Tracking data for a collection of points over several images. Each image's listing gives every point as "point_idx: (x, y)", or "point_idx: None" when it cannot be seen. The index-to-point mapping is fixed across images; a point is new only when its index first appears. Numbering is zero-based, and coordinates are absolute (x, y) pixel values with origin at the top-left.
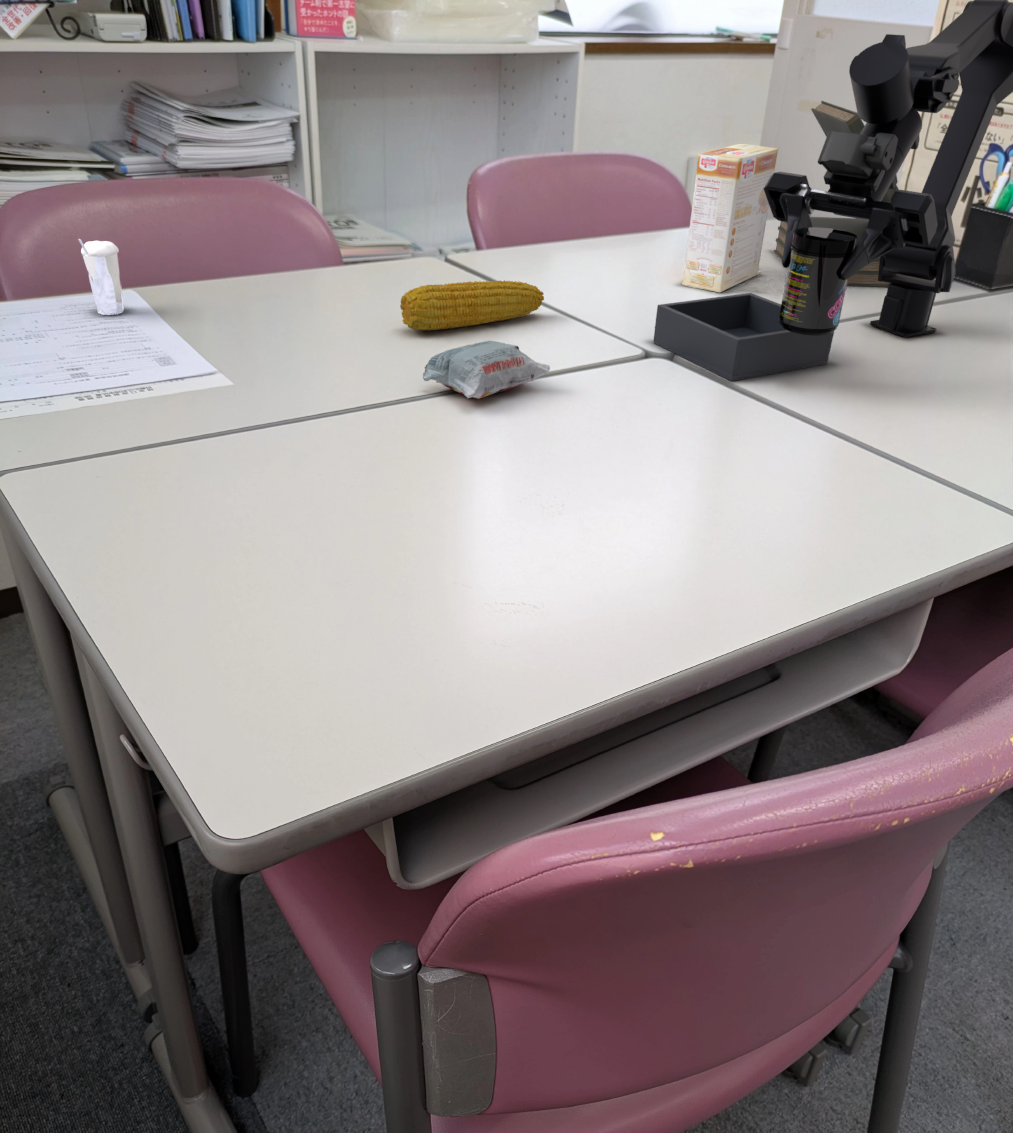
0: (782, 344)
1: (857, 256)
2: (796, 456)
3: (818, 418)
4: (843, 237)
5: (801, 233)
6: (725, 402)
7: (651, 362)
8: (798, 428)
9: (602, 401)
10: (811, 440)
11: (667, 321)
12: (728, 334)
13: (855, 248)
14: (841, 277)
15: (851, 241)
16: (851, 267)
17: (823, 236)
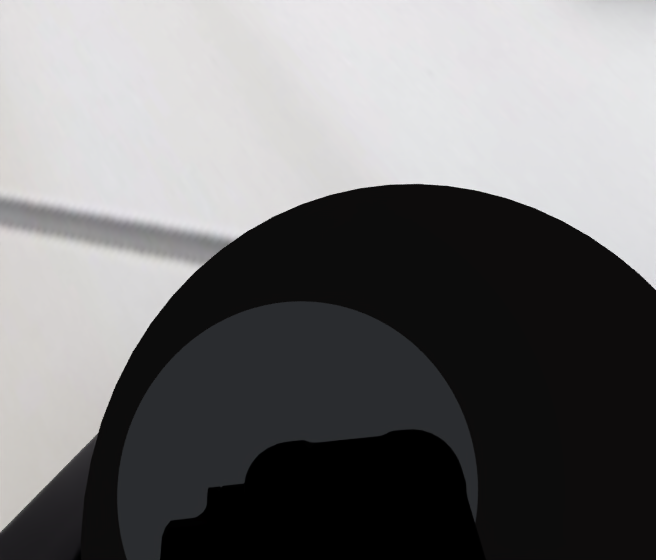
0: None
1: (48, 491)
2: (70, 57)
3: (138, 274)
4: (224, 529)
5: (593, 313)
6: (351, 187)
7: (651, 269)
8: (142, 183)
9: (509, 6)
10: (86, 147)
11: None
12: None
13: (76, 528)
14: None
15: (92, 475)
16: None
17: (390, 379)
